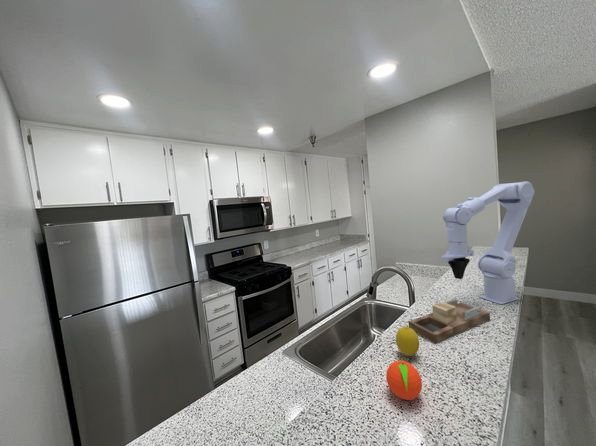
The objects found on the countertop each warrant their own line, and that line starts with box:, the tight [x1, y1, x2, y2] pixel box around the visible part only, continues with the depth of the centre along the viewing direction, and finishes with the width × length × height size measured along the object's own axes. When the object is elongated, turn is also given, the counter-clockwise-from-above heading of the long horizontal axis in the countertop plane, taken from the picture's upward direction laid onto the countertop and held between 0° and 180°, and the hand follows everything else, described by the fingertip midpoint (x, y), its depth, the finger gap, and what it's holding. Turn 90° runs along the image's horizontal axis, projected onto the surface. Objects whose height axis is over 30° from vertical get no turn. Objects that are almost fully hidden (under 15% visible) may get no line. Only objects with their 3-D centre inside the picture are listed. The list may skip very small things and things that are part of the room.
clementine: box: [385, 360, 423, 401], centre depth 49 cm, size 8×7×7 cm
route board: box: [408, 302, 491, 345], centre depth 74 cm, size 25×9×2 cm, turn 112°
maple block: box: [432, 301, 457, 323], centre depth 74 cm, size 4×4×4 cm
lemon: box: [395, 326, 420, 357], centre depth 62 cm, size 6×6×8 cm
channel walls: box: [443, 298, 482, 321], centre depth 76 cm, size 8×8×2 cm
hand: (458, 278), depth 85 cm, fingers closed
